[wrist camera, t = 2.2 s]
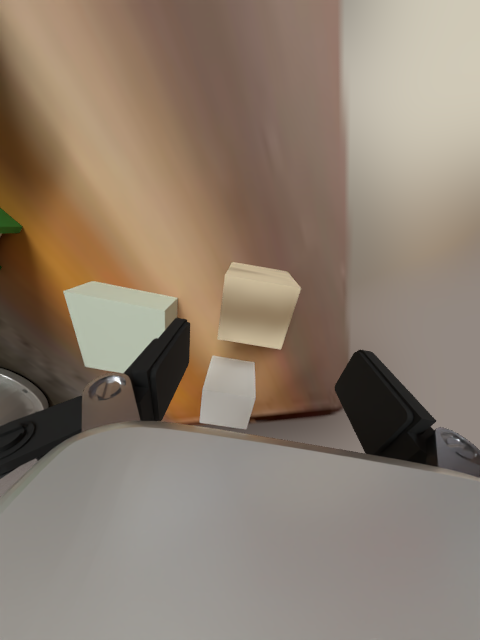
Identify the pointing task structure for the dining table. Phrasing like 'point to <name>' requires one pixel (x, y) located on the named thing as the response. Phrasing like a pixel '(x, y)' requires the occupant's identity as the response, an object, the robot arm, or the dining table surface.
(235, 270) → the maple cube
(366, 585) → the robot arm
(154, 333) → the base block
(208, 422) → the grey cube
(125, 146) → the dining table surface
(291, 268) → the dining table surface
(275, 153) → the dining table surface
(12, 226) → the hardback book
